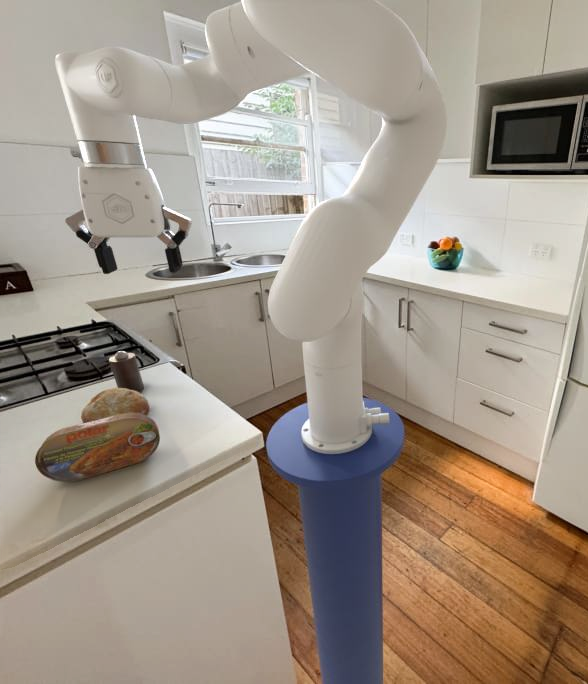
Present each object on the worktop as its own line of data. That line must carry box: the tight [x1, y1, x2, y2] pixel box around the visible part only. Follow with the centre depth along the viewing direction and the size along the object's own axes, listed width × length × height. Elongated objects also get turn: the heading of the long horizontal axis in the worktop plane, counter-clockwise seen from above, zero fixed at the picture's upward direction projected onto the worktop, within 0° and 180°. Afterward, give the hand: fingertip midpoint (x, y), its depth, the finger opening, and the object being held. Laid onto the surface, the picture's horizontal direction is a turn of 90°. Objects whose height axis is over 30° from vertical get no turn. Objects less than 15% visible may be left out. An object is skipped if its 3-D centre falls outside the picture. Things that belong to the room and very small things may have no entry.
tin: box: [34, 413, 161, 483], centre depth 59 cm, size 15×3×8 cm, turn 122°
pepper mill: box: [108, 350, 145, 393], centre depth 80 cm, size 4×4×9 cm
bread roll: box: [80, 387, 150, 424], centre depth 71 cm, size 10×10×8 cm
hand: (143, 271), depth 63 cm, fingers open, 9 cm apart
